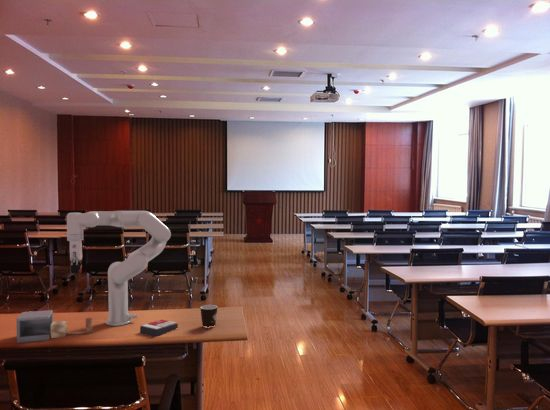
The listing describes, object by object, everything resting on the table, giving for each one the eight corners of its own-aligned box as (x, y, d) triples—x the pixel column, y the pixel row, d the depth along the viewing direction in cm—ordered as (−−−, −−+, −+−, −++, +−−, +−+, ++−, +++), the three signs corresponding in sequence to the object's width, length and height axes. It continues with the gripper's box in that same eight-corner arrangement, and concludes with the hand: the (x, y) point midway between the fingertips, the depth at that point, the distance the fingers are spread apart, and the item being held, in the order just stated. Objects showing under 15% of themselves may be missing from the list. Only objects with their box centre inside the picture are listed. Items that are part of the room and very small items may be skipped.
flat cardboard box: (178, 322, 233) (156, 328, 220) (177, 330, 233) (156, 337, 220) (162, 318, 239) (139, 324, 226) (161, 327, 239) (139, 333, 226)
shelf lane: (52, 332, 226) (52, 310, 226) (48, 340, 215) (48, 316, 214) (22, 335, 222) (22, 312, 222) (16, 342, 211) (16, 318, 211)
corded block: (93, 330, 229) (92, 316, 229) (91, 334, 223) (91, 320, 223) (53, 334, 224) (52, 319, 224) (50, 337, 218) (50, 323, 218)
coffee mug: (206, 330, 230) (206, 310, 230) (197, 326, 237) (197, 306, 237) (225, 325, 238) (225, 306, 238) (216, 321, 245) (216, 303, 244)
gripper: (81, 239, 226) (82, 274, 227) (84, 235, 242) (85, 268, 243) (64, 239, 224) (65, 274, 224) (69, 235, 240) (69, 268, 241)
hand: (75, 271), depth 234 cm, fingers open, 9 cm apart
